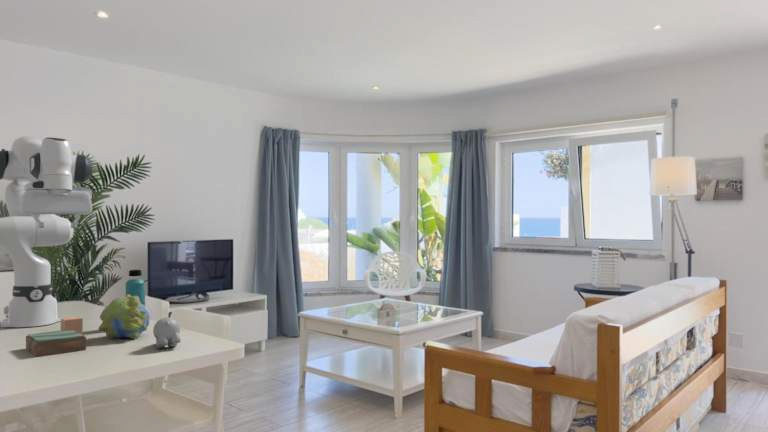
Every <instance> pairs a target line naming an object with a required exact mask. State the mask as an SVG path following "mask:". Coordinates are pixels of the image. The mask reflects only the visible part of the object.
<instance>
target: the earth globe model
mask: <svg viewBox="0 0 768 432" xmlns="http://www.w3.org/2000/svg"><path fill="white" fill-rule="evenodd" d="M99 319H100V320H101V321H102V323H101V324H100V325H99V326H98V331H101V332H103V333H105V336H106V338H109V339H114V338H122V339H123V338H128V339H129V338H130V339H131V340H135V339H138V337H139V336H140V335H141V334H142V333H143V332H145V331H147V329H148V326H149V324H150V320H151V314H150V311H149V310H148V308H147V306H146V304H145V305H144V304H141V302H140V300H139V297H138V296H131V295H129V294H127V295H126V294H125V296H120V297H115V298H114V299H113V300H112V301H111V302H110V303H109V304H108V305H107V306H105V308H104V309H103V310H102V312H101V314H100V315H99Z"/></svg>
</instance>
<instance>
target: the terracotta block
mask: <svg viewBox="0 0 768 432" xmlns="http://www.w3.org/2000/svg"><path fill="white" fill-rule="evenodd" d="M60 318H61V321H60V331H62V330H70V329H72V330H74V331H76V332H78V333H80V334H82V335H83V332H84V331H83V325H84V324H83V321H84V320H83V318H82V317H80V316H72V317H60Z"/></svg>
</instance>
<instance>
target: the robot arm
mask: <svg viewBox="0 0 768 432" xmlns="http://www.w3.org/2000/svg"><path fill="white" fill-rule="evenodd" d="M92 174H93V164H92V162H91V160H90V159H89V158H88V157H87V156H86V155H85V154H72V149H71V144H70V141H69V140H67V139H65V138H61V137H45V138H43V139H42V140H40V139H39V138H37V137H33V136H27V135H26V136H25V135H24V136H21V137H18V138H16V139H15V140H14V141H13V143H12V145H11V150H8V149H7V150H6V149H5V148H2V149H1V150H0V180H6V181H11V182H10V183H8V184H7V186H6V188H5V192H4V200H5V204H6V208H7V211H8V215H9V216H4V217H0V248H1V249H2V250H3V251H5V253H6V254H7V255H8V256H9V258H10V260H11V262H12V266H13V277H14V278H13V279H14V285H13V286H12V293H11V294H12V299H11V300H10V301H9V302H8V305H6V306H5V307H4V308H3V314H4V315H5V318H3V319H2V321H1V324H0V328H30V327H40V326H41V327H42V326H46V325H47V326H48V325H51V324H52V325H53V324H55V323H58V322H61V318H62V317H58V301H57V298H55V297H54V296H53V295H52V294H53V285H52V282H51V281H52V280H51V279H52V270H51V269H52V266H51V263H50V261H49V260H48V259H46V258H45V257H42V256H40V255H37V254H34V253H33V247H35V248H36V247H57V246H61V245H65V244H66V245H67V244H68V243H69V242H70V241H71V240H72V238H73V236H74V229H76V228H78V222H79V220H80V219H81V216H83V215H85V216H86V215H90V214H91V213H92V212H93V202H92V198H93V194H92V193H93V192H92V190H91V189H90V188H88V187H87V186H86V187H85V186H82V187H80V186H73V183H76V184H84V183H85V182H86V181H88V180H89V179H90V178H91V177H92ZM60 215H73V217H74V218H75V219H74V221H73V222H71V221H70V219H68V218H66V217H63V216H62V217H61V216H60Z"/></svg>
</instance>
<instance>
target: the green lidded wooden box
mask: <svg viewBox="0 0 768 432" xmlns="http://www.w3.org/2000/svg"><path fill="white" fill-rule="evenodd" d="M86 348H87V336H85V335H84V334H83V333H82V334H80V333H78V332H76V331H74V330H72V329H70V330H62V331H61V330H55V331H46V332H40V333H39V332H38V333H30V334H29V333H28V334H27V335H26V336H25V349H26V350H27V351H29V352H30V353H32V354H33V355H34V356H35V357H45V356H51V355H58V354H64V353H72V352H79V351H85V350H87V349H86Z"/></svg>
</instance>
